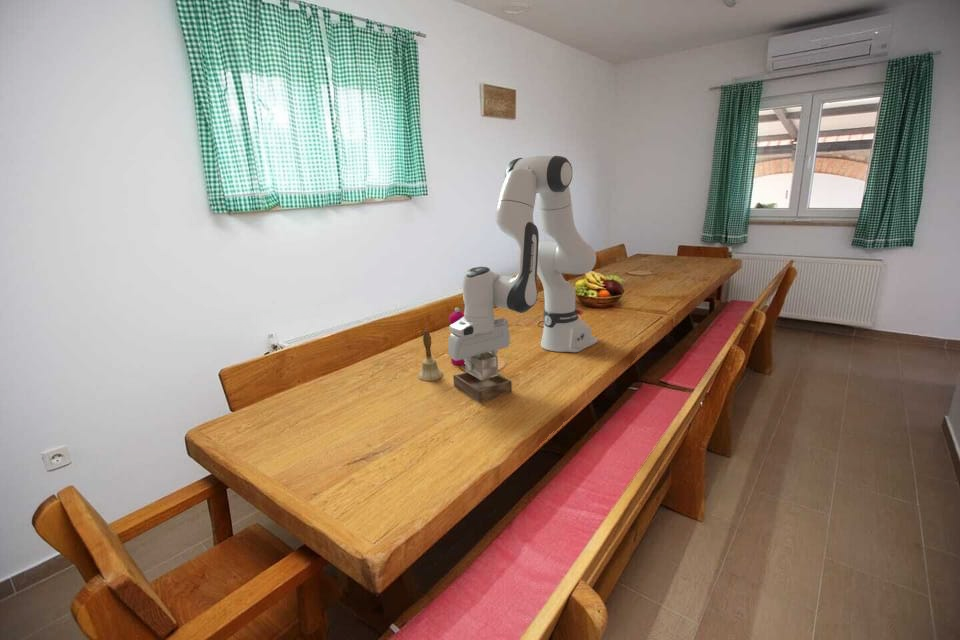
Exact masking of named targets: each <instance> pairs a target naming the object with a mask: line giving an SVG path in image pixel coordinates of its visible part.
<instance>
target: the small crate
mask: <svg viewBox="0 0 960 640" xmlns="http://www.w3.org/2000/svg"><path fill="white" fill-rule="evenodd" d="M469 361H470V363H472V364H474V370H471V371H469V370H468V369H467V364H466V362H465V365H464V372H468V373H469V374H471V375H473V376H475V377H476V378H478V379H480V380H481V381H482V380H485V379H488V378H491V377H495V376H498V374H499V362H498V361H499V359H498V356H497V355H496V356H495V355H493V354H491V352H487V353H483V354H480V355H476V356H472V357H471V360H469Z"/></svg>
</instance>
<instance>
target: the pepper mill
mask: <svg viewBox="0 0 960 640" xmlns="http://www.w3.org/2000/svg"><path fill="white" fill-rule="evenodd" d="M462 317H464V311H463V312H462V311H461V309H460V308H459V307H455V308H454V312H452V313H451V314H450V315H449V317H448V321H449V323H450V325H451V324H453V323H455V322H456V321H458V320H460V319H461V318H462ZM450 358H451V357H450ZM450 362H451V364H452V365H455V366H463V365H462V364H464V363H465V361H464V360H463V359H461V360H458V361H456V360H454V359H452V358H451V360H450Z"/></svg>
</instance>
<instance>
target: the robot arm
mask: <svg viewBox="0 0 960 640" xmlns="http://www.w3.org/2000/svg"><path fill="white" fill-rule="evenodd" d="M504 171H505V172H504V178H505V179H504V181H503V184H502V186H501V189H500V192H499V197H498V200H497V203H496V210H495V222H496V224H497V226H498V228H499V229H500V230H501V231H502V233H504V234H505V235H507V236H509V237H510V238H512V239H514V241H515V242H516V243H517V245H518V247H519V254H518V256H519V259H518V271H517V275H516V276H509V275H504V274H498V273H497V272H494V271H492V270H491V269H490V268H489V267H487V266H477V267H472V268H470V269H468V270H466V272H465V273H464V275H463V276H464V277H463V282H462V299H463V302H464V311H463V313H464V317H462V318H461V319H460V320H458V321H456V322H455V323H453V324H450V325H449V326H448V327H449V329H448V331H449V332H451V333H450V335H449V336H448V344H447V345H448V346H447V348H448V349H447V350H448V351H447V353H448V356H449V358H452V359H454V360H456V361H458V360H461V359H463V360H464V361H465V362H466V364H467V369H468V370H469V371H471V370H474V364H472V363H470V361H469V360H471V357H472V356H476V355H480V354H483V353H487V352H489V353H491V354H493V355H495V356H497V355H498V353H499V352H498V350H501V349H504V348H505V349H506V348H509V346H510V344H511V338H510V337H511V336H510V331H509V321H508V319H506V318H504V317H500V318H495V311H494V307H498V308H502V309H507V310H510V311H513V312H516V313H518V314H524V313H526V312H528V311H529V310H530V309H532V308H533V307H534V306H535V304H536V303H537V300H538V293H539V292H538V284H537V283H538V282H537V278H539V280H540V282H541V285H542V287H543V288H542V289H543V293H544V309H543V330H542V336H541V342H540V347H541V348H542V349H543V350H544V349H545V350H547V351H550V352H557V353H560V352H561V353H563V352H565V353H566V352H567V353H569V352H570V353H578V352H580V351H583V350H584V349H586V348H589V347H591V346H593V345H595V344H597V343H598V342H599V341H598V338H597V337H595V336H593V335H592V329H591V326H590V325H589V324H587V323H586V322H584V321H583V320H582V319H581V318H579V315H580V316H582V315H583V314H584V309H581V308H577V309H576V290H575V287H574V285H572V284H571V283H569V282H568V281H567V280H566V279H565V278H564V276H563V274H566V275H582V274H583V275H585V274H588V273H590V272H591V271H592V270H593V269H594V267H595V266H596V264H597V254H596V252H595V249H594V248H593V246H591V245H590V244H589V243H587V241H585V240H584V239H583V237H582V236H581V235H580V233H579V231H578V229H577V227H576V225H575V220H574V214H573V204H572V203H573V202H572V195H571V189H570V185H571V182H572V180H573V166H572V163H571V162H570V160H568V158H566V157H565V156H562V155H561V156H560V155H554V156H552V155H535V156H529V157H519V158H515V159H513V160H511V161H510V162H509V163H508V164H507V166H506V168H505V170H504ZM536 197H537V201H538V212H539V220H540V221H539V223H540V227H541V230H542V232H544V233H545V235H548V236H549V237H551V238H552V239H553V241H540V239H539V228H538V226H537V225H536V224H535V223H534V210H535V204H536ZM537 276H538V277H537Z"/></svg>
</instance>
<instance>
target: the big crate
mask: <svg viewBox="0 0 960 640" xmlns="http://www.w3.org/2000/svg"><path fill="white" fill-rule="evenodd" d="M512 384H513V383H512V380H510V379H508V378H506V377H504V376H503V375H501V374H499V373H498V376H495V377H491V378H488V379H485V380H482V381H481V380H480V379H478V378H476V377H475V376H473V375H471V374H469V373H468V372H466V371H464V372H460V373H456V374H453V386H454V387H455V388H457V389H458V390H459V391H461V392H462V393H464V394H466V395H467V396H469V398H472V399H473V400H474V401H475V402H478V403H479V404H481V403H484V402H488V401H490V400H492V399H495V398H497V397H501V396H504V395H507V394H509V393H512V392H513V391H512V390H513V389H512V388H513V387H512Z"/></svg>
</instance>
